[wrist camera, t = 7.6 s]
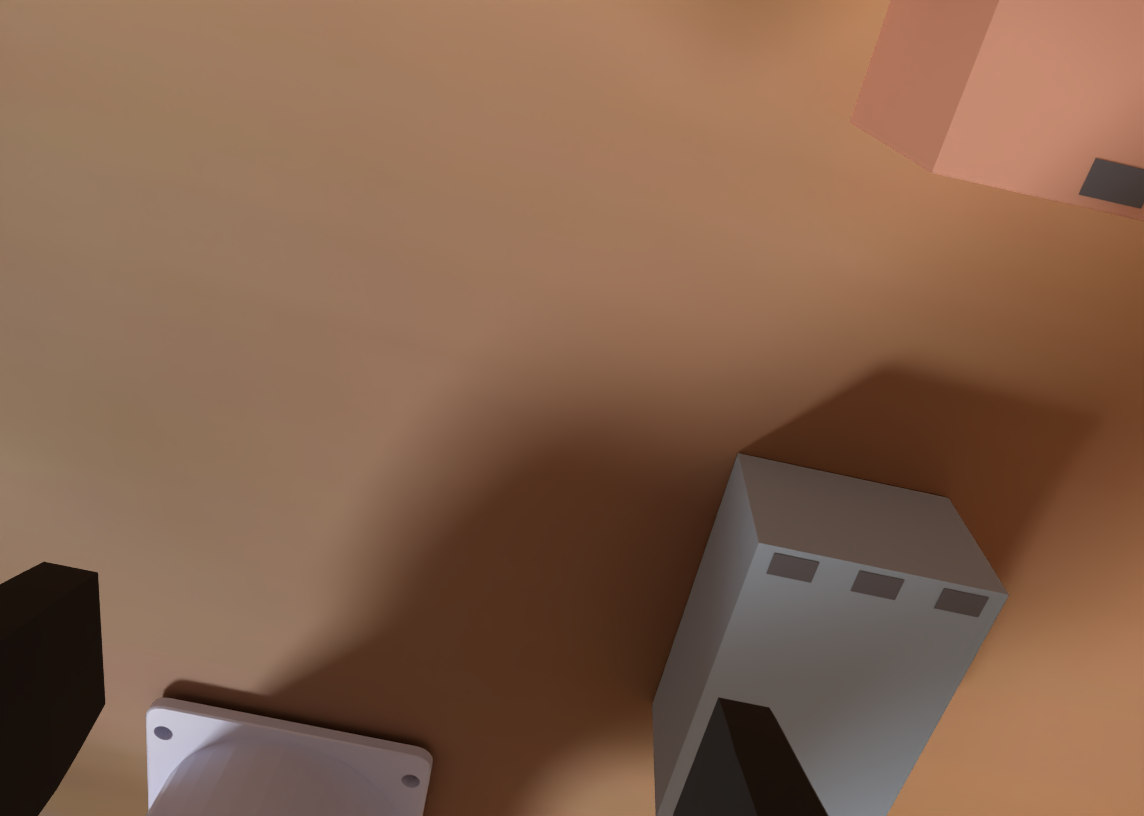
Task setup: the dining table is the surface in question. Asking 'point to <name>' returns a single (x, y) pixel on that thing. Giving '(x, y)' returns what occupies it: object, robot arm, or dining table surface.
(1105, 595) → the dining table surface
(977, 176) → the stub
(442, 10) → the dining table surface
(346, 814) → the robot arm
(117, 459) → the dining table surface
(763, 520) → the slotted gray housing
